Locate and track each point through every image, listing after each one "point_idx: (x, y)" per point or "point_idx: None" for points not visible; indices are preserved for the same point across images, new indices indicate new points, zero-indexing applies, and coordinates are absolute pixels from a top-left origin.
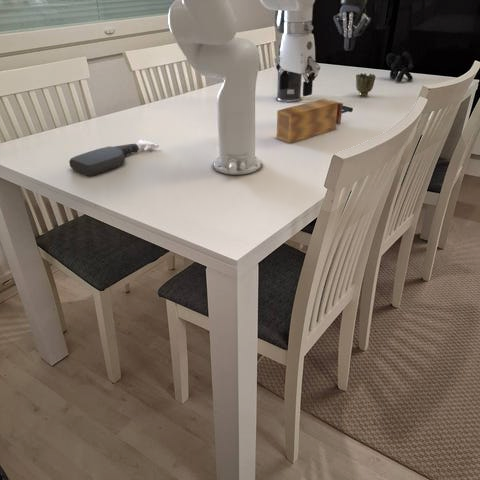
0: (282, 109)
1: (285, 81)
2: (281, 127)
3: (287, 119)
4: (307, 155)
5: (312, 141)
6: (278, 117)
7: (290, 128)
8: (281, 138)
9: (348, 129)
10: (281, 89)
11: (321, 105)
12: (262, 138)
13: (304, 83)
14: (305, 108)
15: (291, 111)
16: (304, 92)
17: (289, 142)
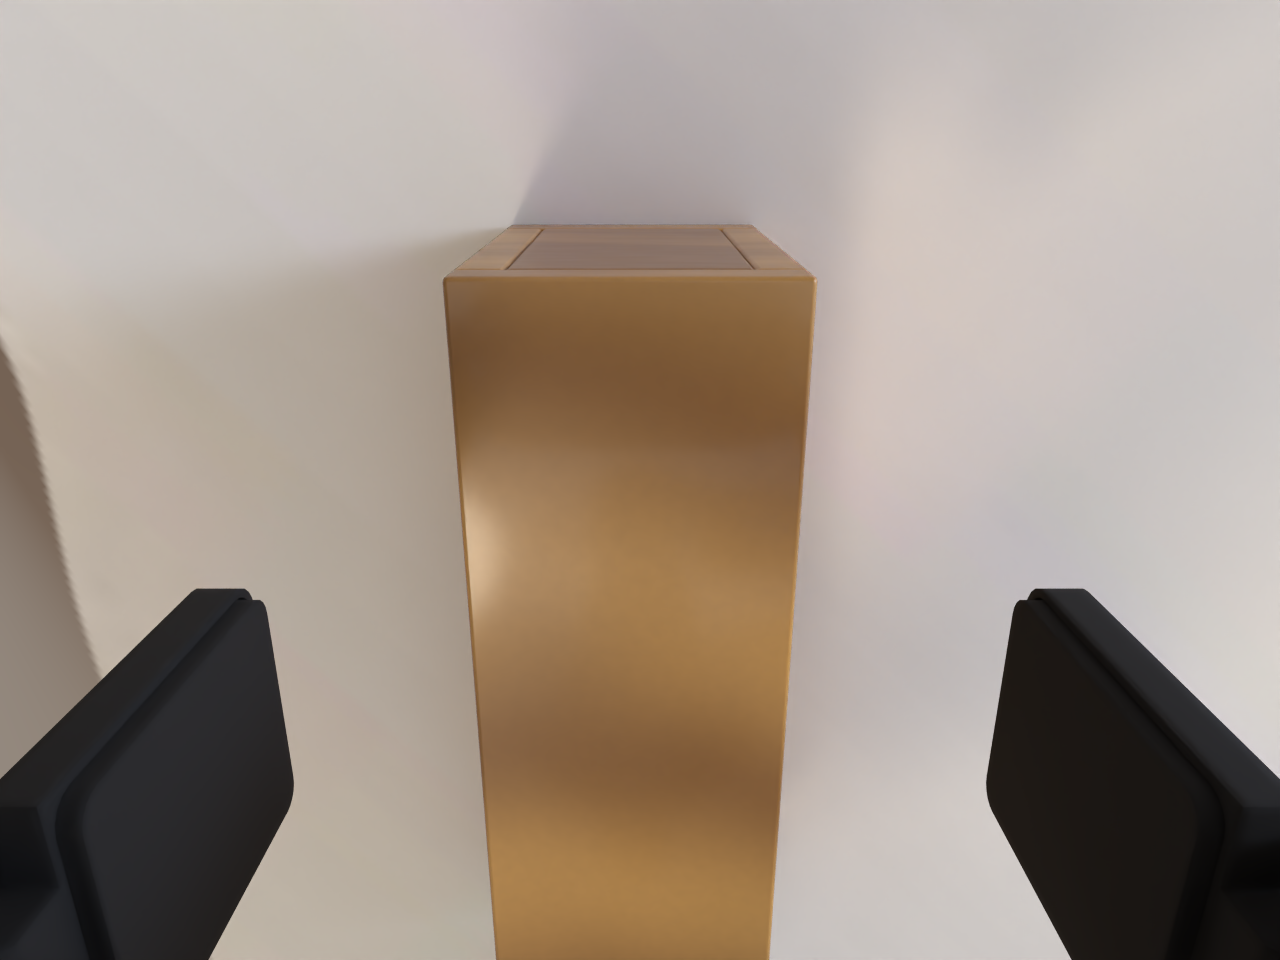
0: (792, 388)
1: (1075, 827)
2: (675, 242)
3: (546, 262)
4: (74, 93)
5: (409, 462)
6: (763, 261)
7: (487, 246)
8: (663, 226)
9: (463, 923)
10: (1021, 600)
11: (539, 921)
12: (876, 81)
13: (7, 772)
14: (575, 685)
15: (593, 417)
16: (160, 632)
17: (520, 225)
